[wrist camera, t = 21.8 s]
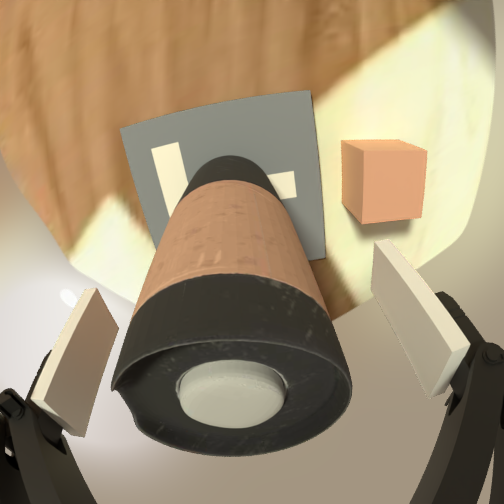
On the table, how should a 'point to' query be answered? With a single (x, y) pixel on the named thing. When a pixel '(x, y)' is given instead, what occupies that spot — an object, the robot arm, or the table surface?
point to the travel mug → (231, 326)
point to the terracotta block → (383, 179)
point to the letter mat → (232, 143)
